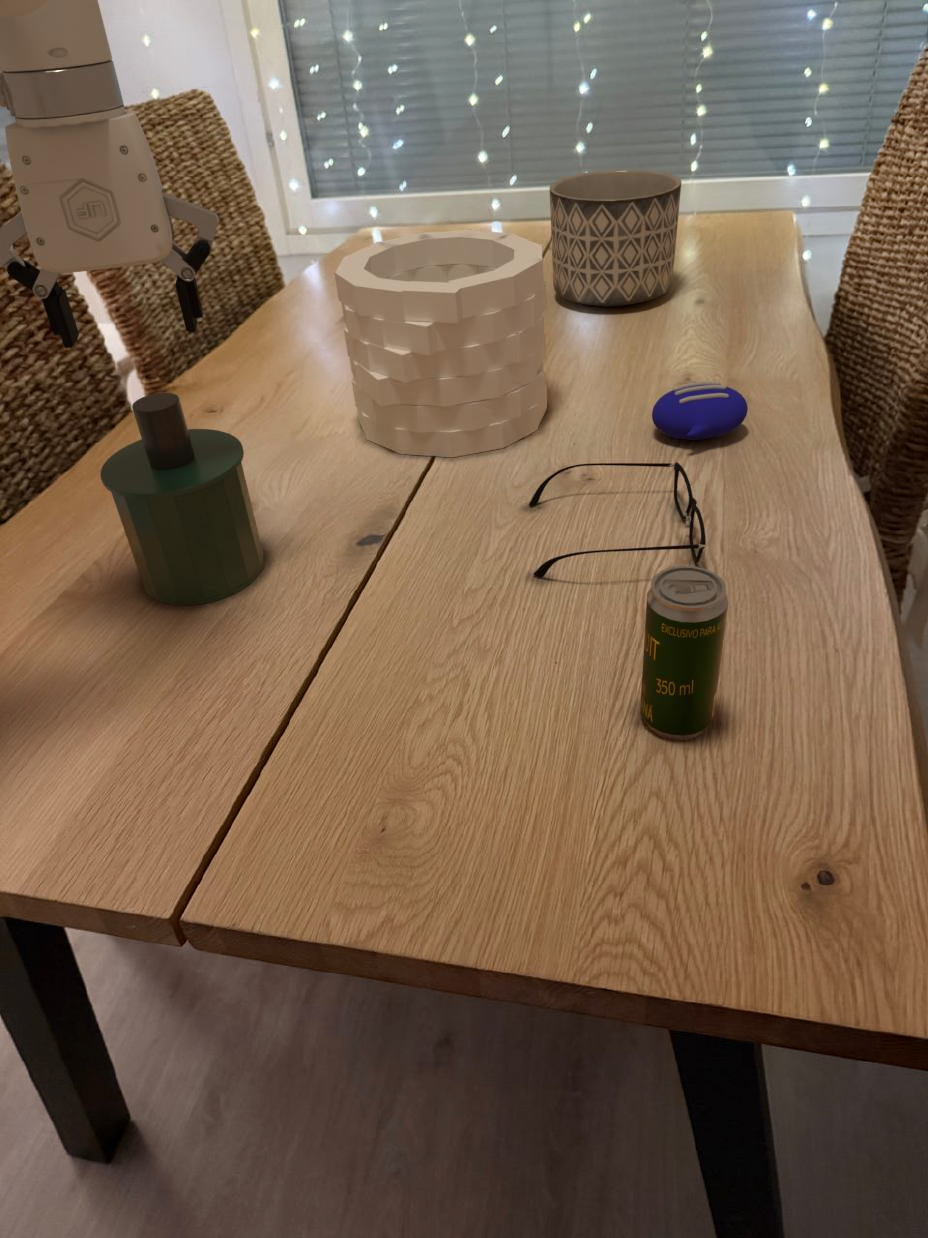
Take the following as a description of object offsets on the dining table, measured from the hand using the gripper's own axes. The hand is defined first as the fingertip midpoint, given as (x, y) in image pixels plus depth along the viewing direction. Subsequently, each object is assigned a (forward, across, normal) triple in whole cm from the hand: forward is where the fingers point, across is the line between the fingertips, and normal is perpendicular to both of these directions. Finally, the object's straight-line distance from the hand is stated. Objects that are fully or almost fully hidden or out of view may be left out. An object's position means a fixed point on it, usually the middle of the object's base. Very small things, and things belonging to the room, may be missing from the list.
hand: (132, 334), depth 75 cm
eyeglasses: (+24, +40, -5) cm, 46 cm away
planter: (+23, +62, +63) cm, 91 cm away
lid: (+12, 0, +1) cm, 12 cm away
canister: (+24, 0, +1) cm, 24 cm away
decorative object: (+23, +56, +13) cm, 62 cm away
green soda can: (+24, +36, -30) cm, 53 cm away
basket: (+23, +30, +28) cm, 47 cm away
